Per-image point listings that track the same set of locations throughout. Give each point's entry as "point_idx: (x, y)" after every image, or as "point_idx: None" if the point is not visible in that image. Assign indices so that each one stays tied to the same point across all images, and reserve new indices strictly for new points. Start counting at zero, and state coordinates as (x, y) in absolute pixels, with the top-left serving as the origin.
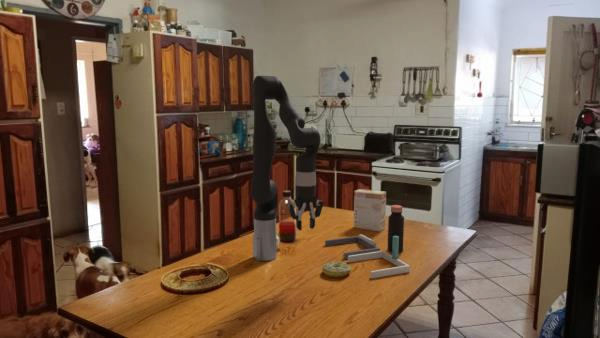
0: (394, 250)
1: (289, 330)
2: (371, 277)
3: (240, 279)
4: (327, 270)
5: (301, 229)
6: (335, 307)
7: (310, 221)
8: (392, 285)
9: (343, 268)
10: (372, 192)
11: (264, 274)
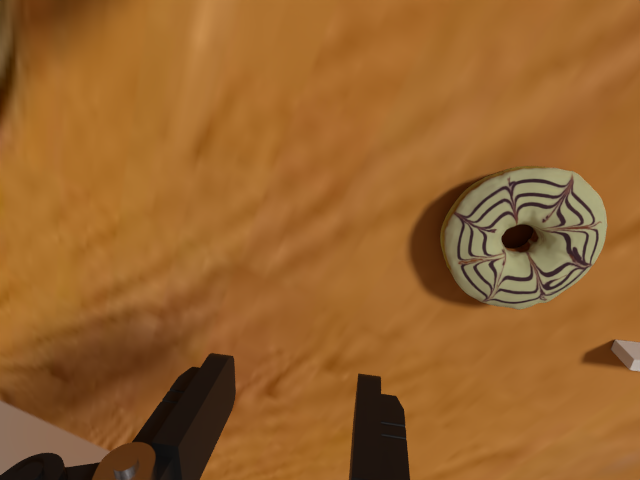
0: None
1: None
2: (613, 349)
3: (65, 90)
4: (447, 262)
5: (230, 409)
6: (324, 445)
7: (352, 456)
8: (624, 430)
9: (526, 299)
10: None
11: (180, 79)
